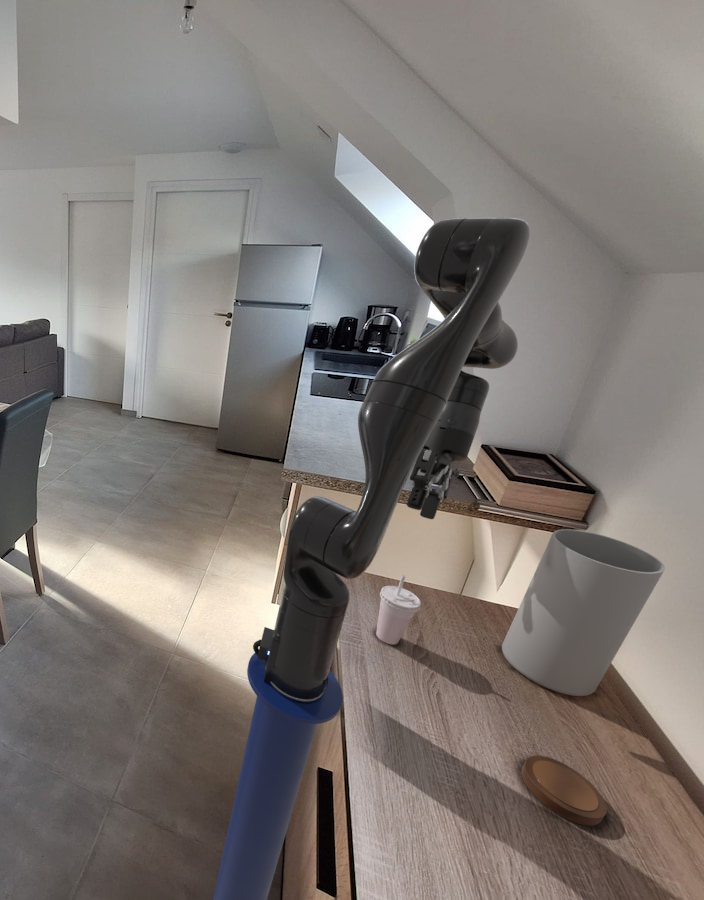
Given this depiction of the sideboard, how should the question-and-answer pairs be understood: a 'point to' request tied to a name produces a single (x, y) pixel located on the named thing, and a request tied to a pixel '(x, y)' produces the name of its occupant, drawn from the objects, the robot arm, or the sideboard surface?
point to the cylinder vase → (579, 610)
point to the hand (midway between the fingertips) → (420, 513)
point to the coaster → (563, 790)
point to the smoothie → (395, 612)
